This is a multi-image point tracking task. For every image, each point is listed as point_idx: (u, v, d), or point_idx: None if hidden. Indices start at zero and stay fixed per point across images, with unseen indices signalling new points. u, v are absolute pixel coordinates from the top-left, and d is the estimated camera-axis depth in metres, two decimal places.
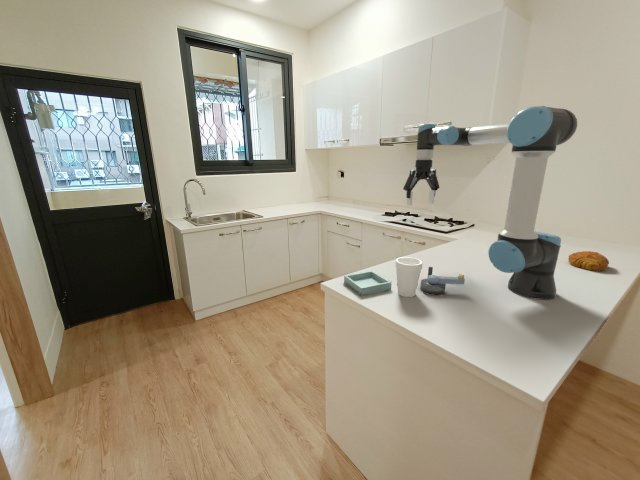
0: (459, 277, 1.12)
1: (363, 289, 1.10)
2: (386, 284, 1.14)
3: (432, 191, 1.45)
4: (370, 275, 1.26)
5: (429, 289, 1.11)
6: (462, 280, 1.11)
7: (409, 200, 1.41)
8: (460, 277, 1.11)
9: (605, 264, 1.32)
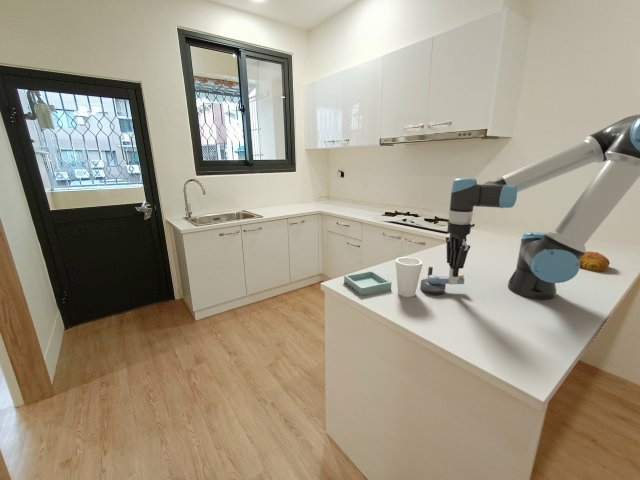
0: (459, 277, 1.12)
1: (363, 289, 1.10)
2: (386, 284, 1.14)
3: None
4: (370, 275, 1.26)
5: (429, 289, 1.11)
6: (462, 280, 1.11)
7: None
8: (460, 277, 1.12)
9: (606, 264, 1.32)
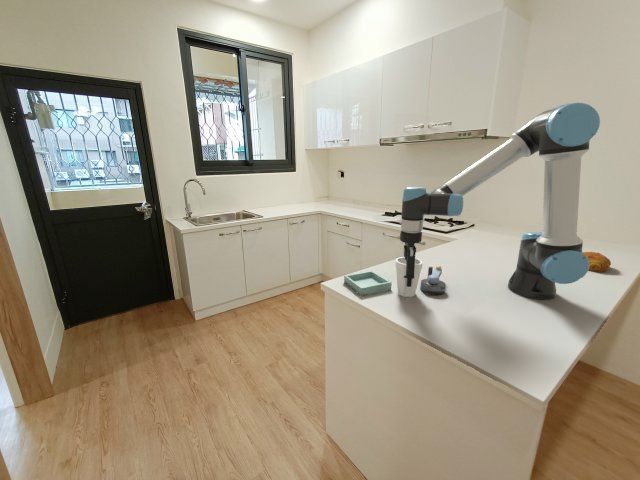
0: (439, 268, 1.21)
1: (363, 289, 1.10)
2: (386, 284, 1.14)
3: None
4: (370, 275, 1.26)
5: (429, 289, 1.11)
6: (441, 270, 1.21)
7: (409, 288, 1.06)
8: (440, 268, 1.21)
9: (607, 265, 1.31)
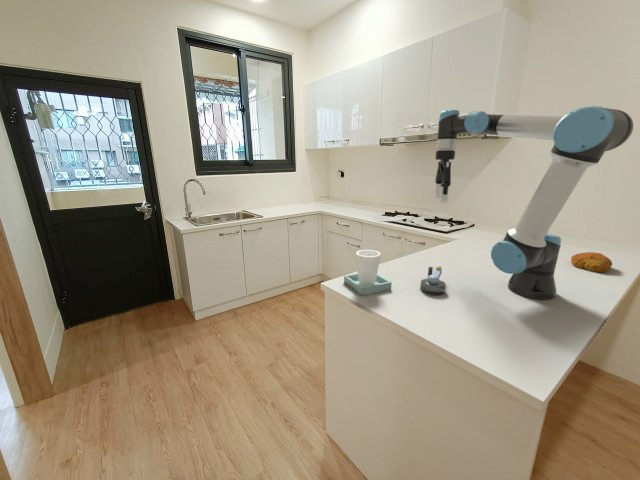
0: (439, 268, 1.21)
1: (363, 289, 1.10)
2: (386, 284, 1.14)
3: (440, 185, 1.35)
4: None
5: (429, 289, 1.11)
6: (441, 270, 1.21)
7: (445, 197, 1.23)
8: (440, 268, 1.21)
9: (608, 265, 1.31)
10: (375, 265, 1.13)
